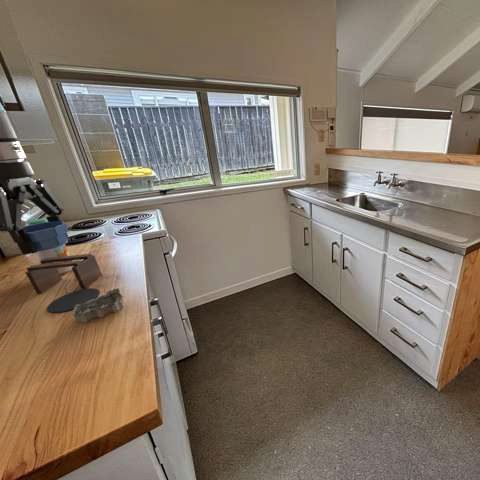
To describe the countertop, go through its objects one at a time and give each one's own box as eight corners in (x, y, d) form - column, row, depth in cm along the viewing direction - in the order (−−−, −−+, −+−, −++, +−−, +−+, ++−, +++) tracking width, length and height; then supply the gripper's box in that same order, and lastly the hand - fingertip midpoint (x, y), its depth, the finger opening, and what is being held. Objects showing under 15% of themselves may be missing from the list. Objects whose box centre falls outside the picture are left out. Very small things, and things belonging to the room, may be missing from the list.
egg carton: (125, 298, 78) (120, 286, 77) (124, 311, 72) (119, 298, 71) (79, 311, 73) (73, 299, 71) (74, 326, 67) (68, 313, 65)
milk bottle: (56, 277, 92) (29, 224, 84) (43, 274, 94) (15, 223, 87) (80, 266, 99) (57, 217, 91) (67, 264, 101) (44, 216, 93)
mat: (35, 315, 72) (35, 314, 72) (67, 291, 83) (67, 290, 83) (83, 309, 73) (82, 308, 73) (108, 286, 84) (107, 286, 84)
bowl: (9, 255, 66) (-2, 235, 64) (42, 240, 75) (33, 222, 73) (54, 251, 67) (44, 231, 65) (81, 237, 76) (73, 219, 74)
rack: (37, 294, 82) (23, 269, 79) (58, 279, 90) (47, 256, 87) (85, 288, 84) (74, 264, 80) (102, 274, 92) (92, 252, 89)
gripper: (-27, 165, 52) (26, 261, 61) (58, 156, 73) (89, 229, 82) (-71, 168, 51) (-10, 265, 60) (29, 158, 72) (63, 231, 81)
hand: (47, 244), depth 71 cm, fingers closed on bowl, 10 cm apart
